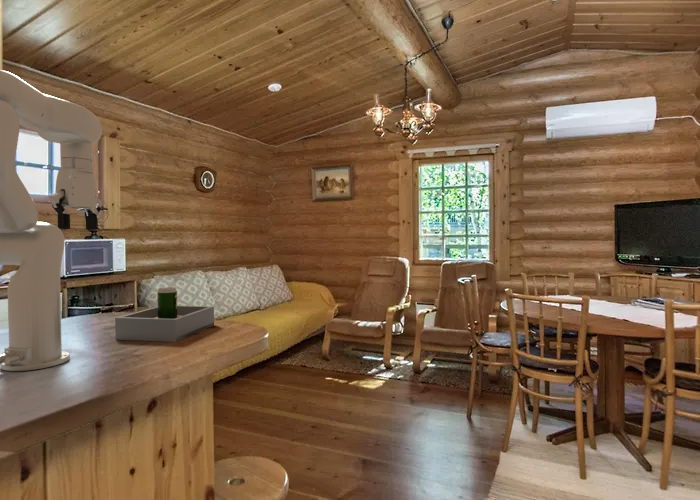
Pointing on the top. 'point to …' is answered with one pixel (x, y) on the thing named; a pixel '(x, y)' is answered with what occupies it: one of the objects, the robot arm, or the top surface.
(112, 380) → the top surface
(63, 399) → the top surface
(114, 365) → the top surface
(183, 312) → the walled box
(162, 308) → the beer can
